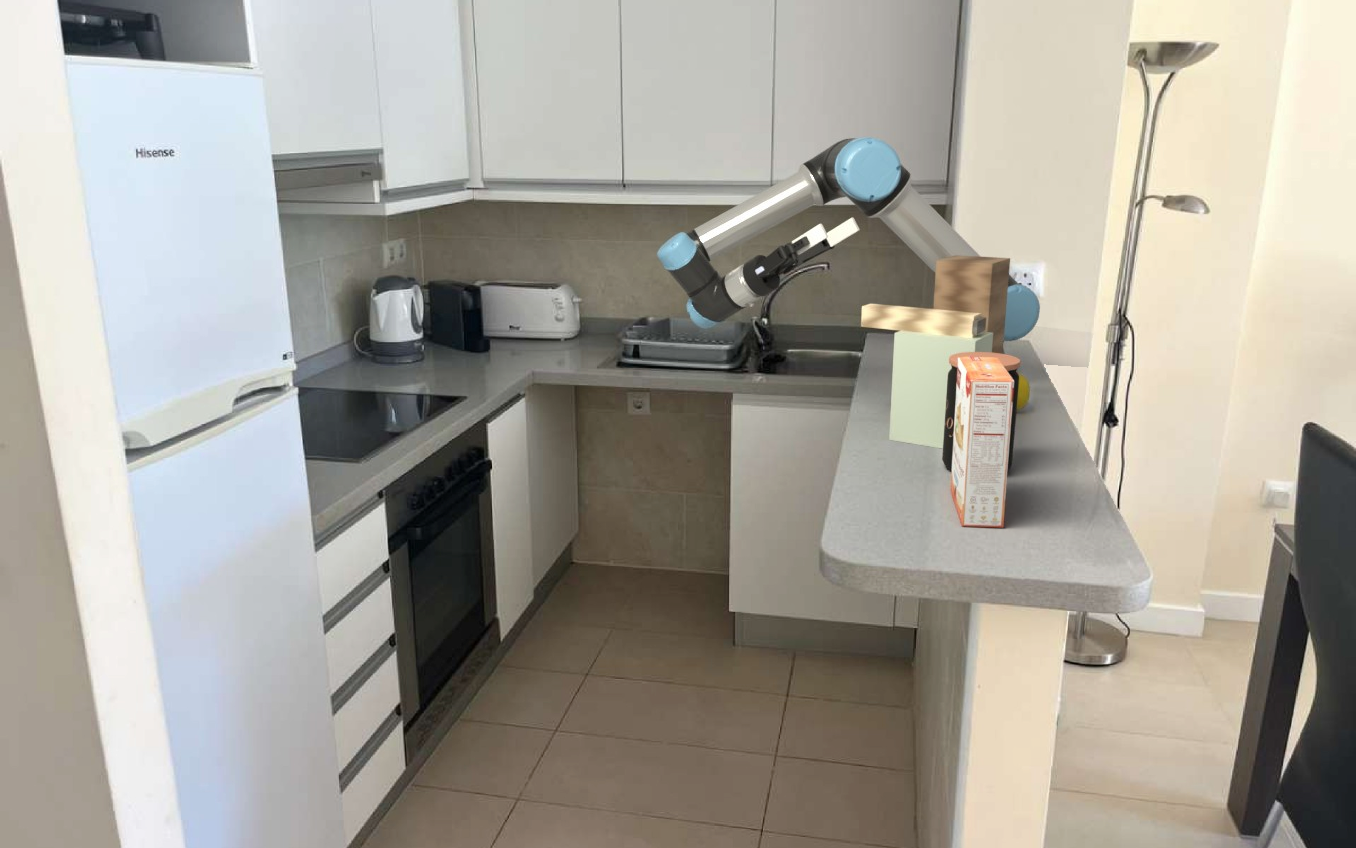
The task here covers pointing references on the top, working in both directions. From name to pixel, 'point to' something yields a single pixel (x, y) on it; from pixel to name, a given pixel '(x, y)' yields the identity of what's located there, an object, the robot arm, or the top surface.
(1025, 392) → the lemon
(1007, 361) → the coffee jar
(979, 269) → the stand
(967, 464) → the cracker box
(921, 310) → the light wooden bar
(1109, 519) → the top surface
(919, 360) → the pale green rectangular prism
